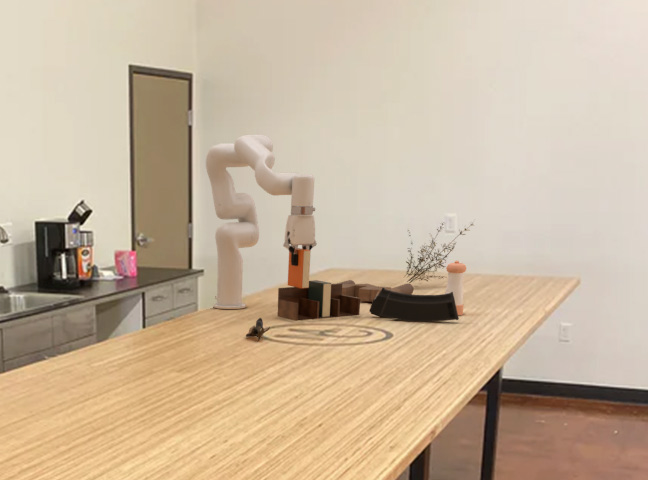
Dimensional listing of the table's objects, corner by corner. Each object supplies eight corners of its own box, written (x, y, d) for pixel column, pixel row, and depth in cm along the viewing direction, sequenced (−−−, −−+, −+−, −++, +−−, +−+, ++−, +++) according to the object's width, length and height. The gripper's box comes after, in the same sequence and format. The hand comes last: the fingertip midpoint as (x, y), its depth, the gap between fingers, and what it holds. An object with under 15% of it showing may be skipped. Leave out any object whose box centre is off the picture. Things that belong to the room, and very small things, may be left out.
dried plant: (428, 250, 436) (481, 199, 458) (366, 252, 459) (419, 203, 480) (445, 315, 452) (495, 263, 473) (383, 314, 474) (434, 264, 496)
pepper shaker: (466, 313, 390) (471, 260, 384) (456, 316, 385) (461, 262, 379) (448, 311, 395) (452, 259, 389) (438, 314, 390) (442, 260, 384)
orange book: (287, 285, 380) (289, 248, 376) (294, 284, 381) (296, 247, 377) (301, 288, 372) (303, 250, 368) (309, 288, 373) (311, 250, 369)
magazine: (467, 296, 368) (385, 268, 375) (467, 297, 365) (384, 269, 372) (449, 342, 375) (368, 314, 381) (448, 344, 372) (367, 315, 378)
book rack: (277, 318, 383) (278, 287, 380) (339, 312, 394) (341, 283, 391) (295, 322, 373) (297, 291, 370) (359, 317, 384) (360, 286, 381)
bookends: (393, 305, 412) (419, 296, 436) (394, 290, 411) (420, 282, 434) (310, 299, 430) (339, 290, 454) (311, 285, 428) (339, 277, 452)
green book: (307, 314, 387) (308, 280, 383) (315, 313, 388) (316, 280, 384) (321, 317, 379) (323, 283, 375) (330, 316, 380) (331, 282, 376)
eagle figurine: (275, 337, 339) (267, 327, 346) (265, 319, 335) (257, 310, 343) (255, 350, 339) (247, 340, 347) (245, 333, 336) (237, 323, 344)
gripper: (315, 209, 375) (312, 262, 381) (275, 211, 368) (273, 265, 374) (327, 211, 369) (324, 265, 375) (287, 212, 362) (285, 267, 368)
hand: (299, 264), depth 374 cm, fingers closed on orange book, 3 cm apart
